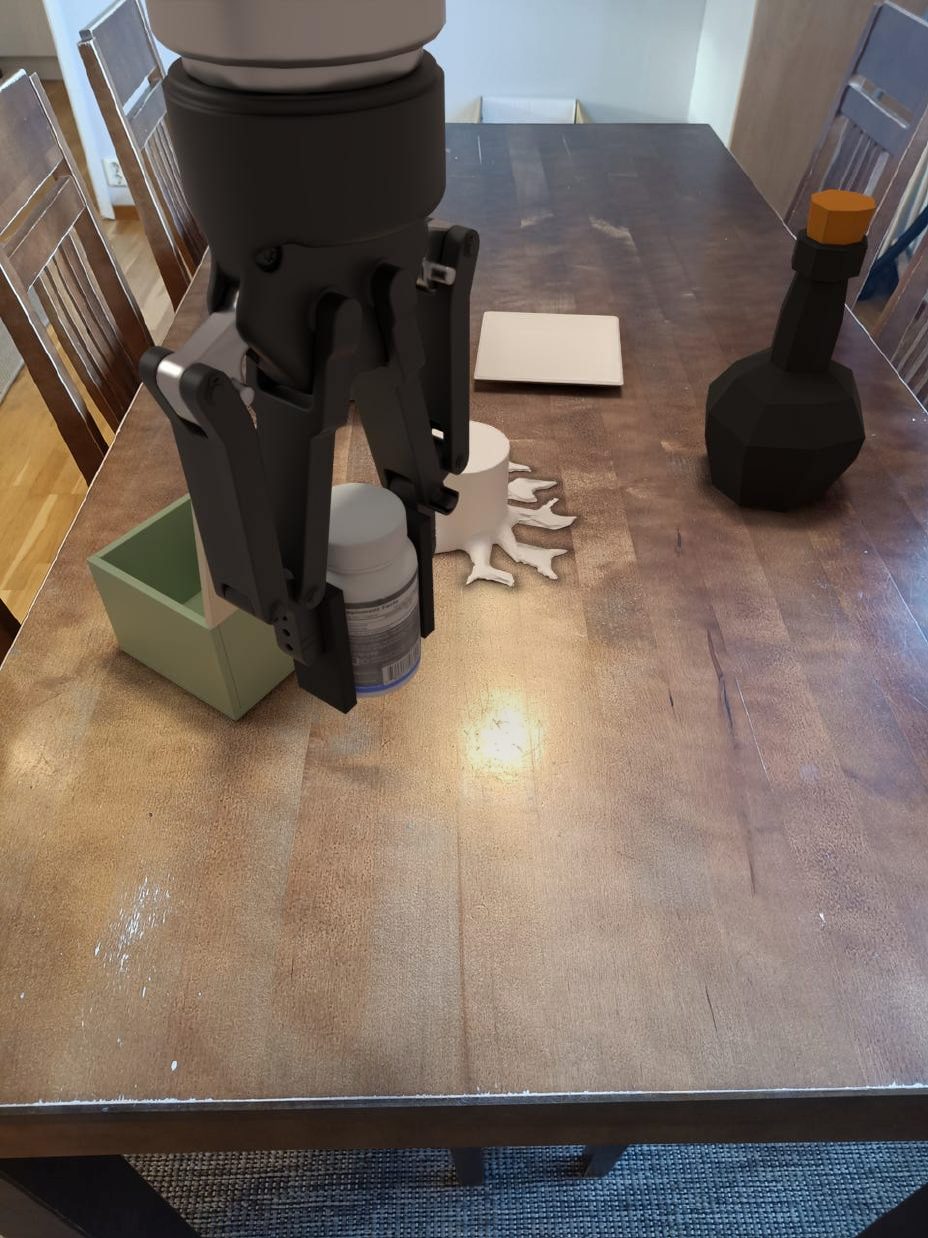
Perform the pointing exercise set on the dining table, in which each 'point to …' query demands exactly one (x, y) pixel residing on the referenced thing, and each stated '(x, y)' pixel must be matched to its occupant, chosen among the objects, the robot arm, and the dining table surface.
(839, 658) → the dining table surface
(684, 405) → the dining table surface
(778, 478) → the bottle
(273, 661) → the box
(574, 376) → the plate
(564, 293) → the dining table surface
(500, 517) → the white tree stump
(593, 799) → the dining table surface
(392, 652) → the pill bottle
